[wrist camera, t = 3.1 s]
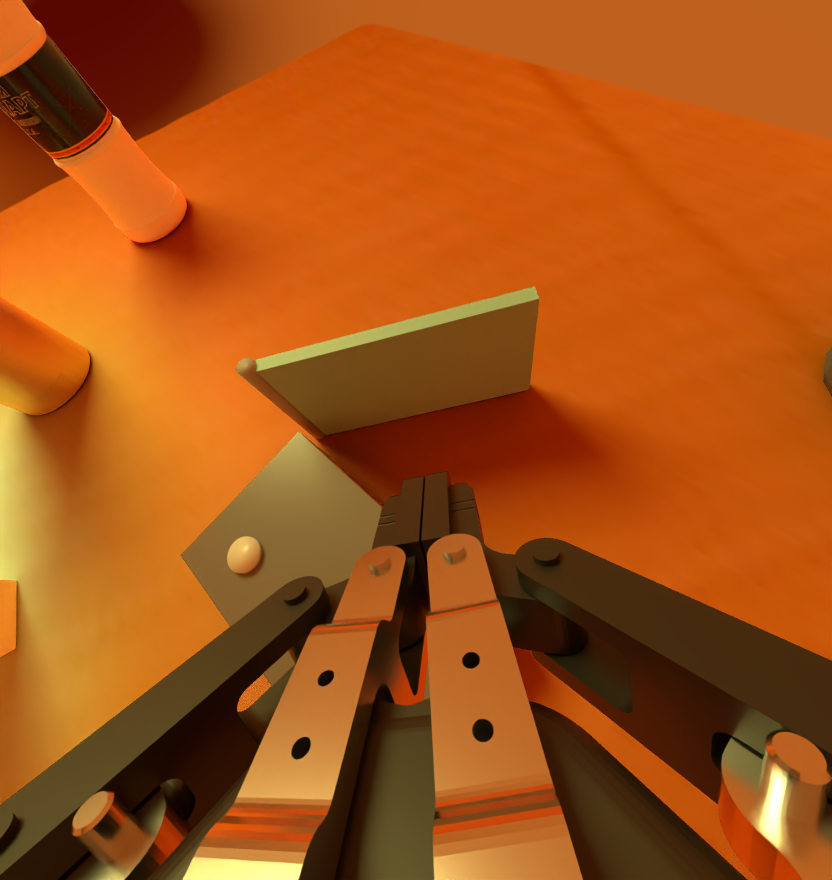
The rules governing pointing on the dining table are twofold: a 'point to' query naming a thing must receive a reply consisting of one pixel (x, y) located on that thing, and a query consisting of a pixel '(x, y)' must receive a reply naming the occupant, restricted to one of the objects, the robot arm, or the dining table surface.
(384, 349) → the door
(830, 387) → the bottle
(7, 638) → the milk
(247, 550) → the box with round knob
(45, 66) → the vodka
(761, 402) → the dining table surface
